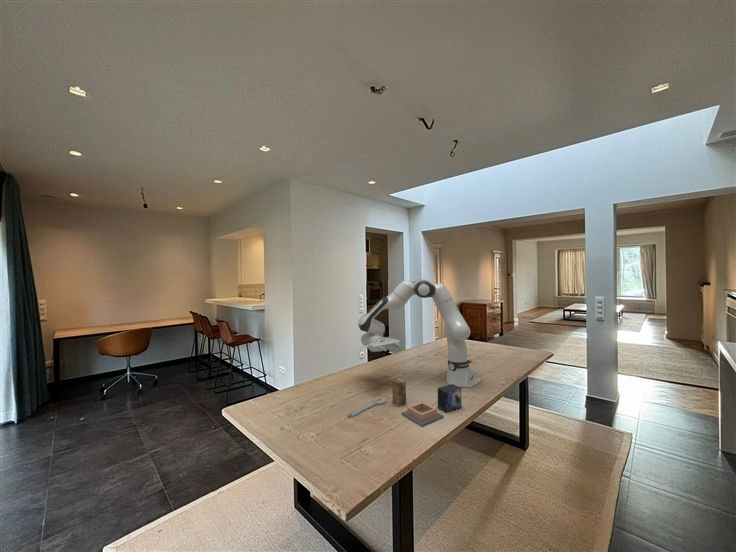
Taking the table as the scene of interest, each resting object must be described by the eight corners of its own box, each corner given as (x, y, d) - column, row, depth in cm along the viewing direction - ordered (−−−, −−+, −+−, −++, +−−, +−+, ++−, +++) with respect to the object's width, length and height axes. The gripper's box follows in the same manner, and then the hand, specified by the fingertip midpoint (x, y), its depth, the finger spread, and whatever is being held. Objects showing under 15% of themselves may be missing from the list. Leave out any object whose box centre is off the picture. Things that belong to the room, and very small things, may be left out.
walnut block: (400, 401, 156) (399, 378, 156) (406, 404, 152) (405, 381, 152) (392, 403, 153) (392, 380, 153) (398, 406, 149) (398, 383, 149)
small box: (445, 413, 141) (445, 391, 141) (437, 408, 147) (436, 387, 147) (462, 408, 145) (461, 387, 145) (453, 403, 151) (452, 383, 151)
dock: (422, 407, 148) (422, 399, 148) (443, 417, 136) (443, 409, 136) (401, 414, 140) (401, 406, 140) (421, 427, 128) (421, 418, 129)
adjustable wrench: (350, 419, 138) (350, 416, 138) (342, 415, 143) (342, 411, 143) (387, 403, 154) (387, 400, 154) (379, 399, 159) (379, 396, 159)
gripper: (364, 340, 172) (377, 345, 160) (391, 336, 183) (406, 340, 171) (364, 351, 172) (378, 356, 160) (391, 346, 183) (406, 350, 171)
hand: (392, 348), depth 166 cm, fingers open, 8 cm apart
